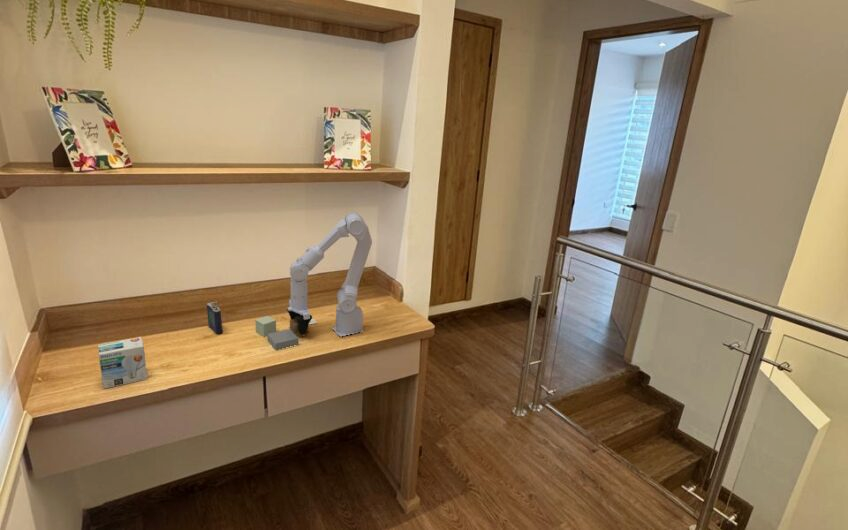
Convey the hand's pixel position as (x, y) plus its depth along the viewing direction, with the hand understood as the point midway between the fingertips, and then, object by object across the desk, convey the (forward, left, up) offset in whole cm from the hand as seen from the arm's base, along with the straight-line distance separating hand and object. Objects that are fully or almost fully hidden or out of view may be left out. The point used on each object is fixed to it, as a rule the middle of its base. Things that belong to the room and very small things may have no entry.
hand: (299, 329), depth 163 cm
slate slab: (+8, +4, -2) cm, 9 cm away
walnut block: (0, 0, -2) cm, 2 cm away
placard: (-6, -8, -1) cm, 10 cm away
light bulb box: (+53, +4, -2) cm, 53 cm away
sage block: (+10, -6, -2) cm, 12 cm away
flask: (+24, -16, -2) cm, 29 cm away
